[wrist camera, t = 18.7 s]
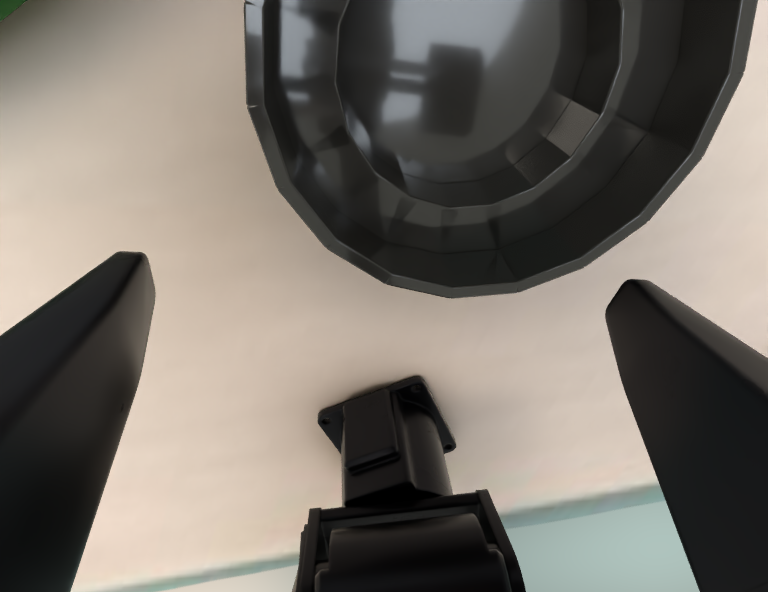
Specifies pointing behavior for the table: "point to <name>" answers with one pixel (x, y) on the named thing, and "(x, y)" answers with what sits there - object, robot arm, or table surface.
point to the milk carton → (9, 7)
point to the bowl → (486, 126)
